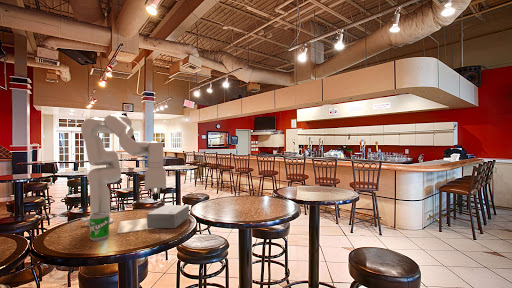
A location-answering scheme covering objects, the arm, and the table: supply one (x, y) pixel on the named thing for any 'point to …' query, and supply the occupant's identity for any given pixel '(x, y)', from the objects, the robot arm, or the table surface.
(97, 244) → the table surface
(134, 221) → the board
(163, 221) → the hard drive box
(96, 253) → the table surface
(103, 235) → the soda can
